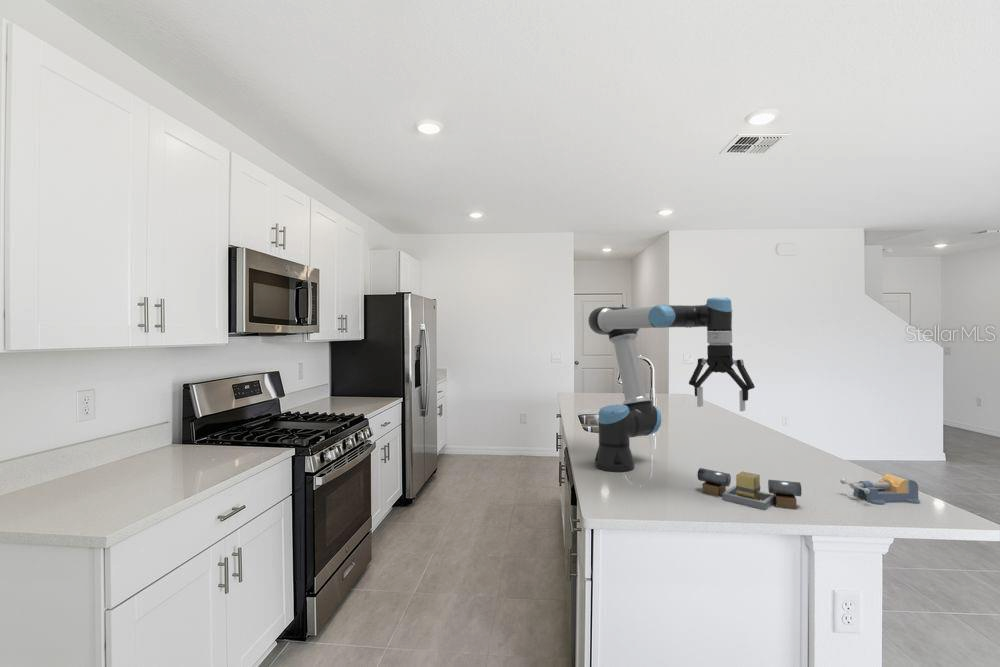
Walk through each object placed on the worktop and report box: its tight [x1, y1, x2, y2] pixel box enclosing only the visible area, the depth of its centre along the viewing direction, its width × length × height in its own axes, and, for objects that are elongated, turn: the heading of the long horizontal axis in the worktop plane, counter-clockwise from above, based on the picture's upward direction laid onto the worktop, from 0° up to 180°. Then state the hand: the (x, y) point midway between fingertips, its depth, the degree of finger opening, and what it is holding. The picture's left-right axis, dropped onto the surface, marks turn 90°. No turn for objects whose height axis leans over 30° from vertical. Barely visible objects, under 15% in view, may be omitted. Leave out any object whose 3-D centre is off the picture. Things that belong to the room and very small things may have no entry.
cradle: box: [722, 485, 775, 511], centre depth 142 cm, size 12×10×2 cm
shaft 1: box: [696, 467, 732, 498], centre depth 150 cm, size 9×6×7 cm, turn 43°
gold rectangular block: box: [735, 471, 761, 501], centre depth 142 cm, size 5×5×8 cm
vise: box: [839, 473, 921, 506], centre depth 142 cm, size 18×10×7 cm, turn 92°
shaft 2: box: [767, 479, 802, 510], centre depth 139 cm, size 8×6×7 cm
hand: (720, 408), depth 153 cm, fingers open, 13 cm apart
